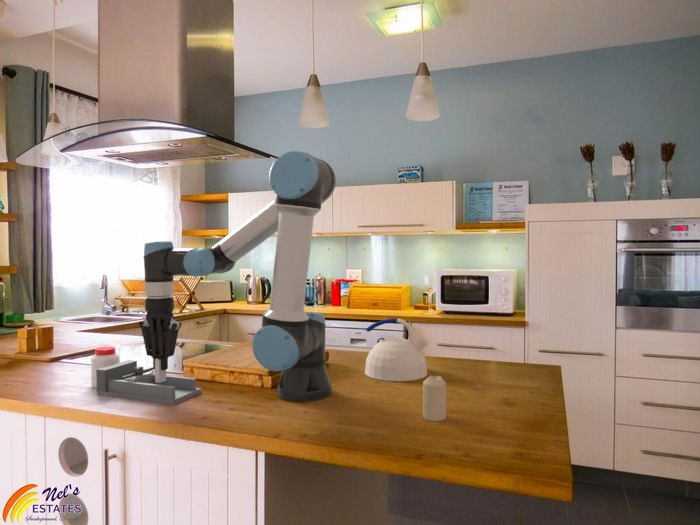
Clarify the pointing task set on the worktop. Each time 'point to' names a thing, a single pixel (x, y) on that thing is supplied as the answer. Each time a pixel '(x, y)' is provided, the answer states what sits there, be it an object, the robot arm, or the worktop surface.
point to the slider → (140, 375)
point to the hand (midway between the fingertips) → (160, 381)
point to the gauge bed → (143, 385)
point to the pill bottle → (102, 361)
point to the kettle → (396, 356)
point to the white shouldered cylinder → (434, 399)
